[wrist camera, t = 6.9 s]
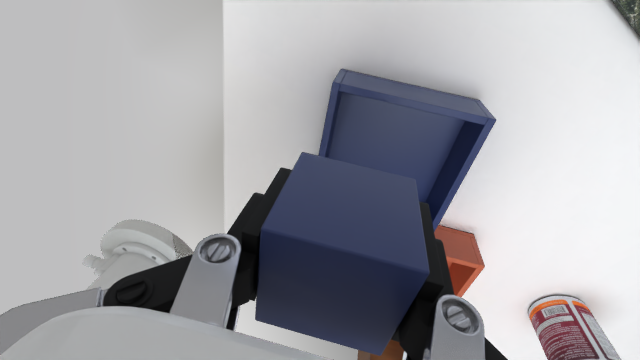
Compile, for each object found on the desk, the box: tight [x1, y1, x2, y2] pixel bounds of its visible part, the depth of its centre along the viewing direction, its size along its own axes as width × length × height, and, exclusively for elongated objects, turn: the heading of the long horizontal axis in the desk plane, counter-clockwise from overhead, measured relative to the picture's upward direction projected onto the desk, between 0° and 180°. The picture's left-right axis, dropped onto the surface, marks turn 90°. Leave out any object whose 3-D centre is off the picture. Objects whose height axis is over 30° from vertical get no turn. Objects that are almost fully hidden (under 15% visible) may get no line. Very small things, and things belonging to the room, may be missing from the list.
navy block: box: [255, 152, 430, 356], centre depth 11 cm, size 4×4×4 cm
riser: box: [358, 340, 404, 360], centre depth 38 cm, size 7×7×10 cm
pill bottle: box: [529, 296, 621, 360], centre depth 31 cm, size 6×6×11 cm
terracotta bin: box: [434, 225, 485, 297], centre depth 34 cm, size 12×12×5 cm
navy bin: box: [319, 69, 496, 232], centre depth 27 cm, size 12×12×5 cm
